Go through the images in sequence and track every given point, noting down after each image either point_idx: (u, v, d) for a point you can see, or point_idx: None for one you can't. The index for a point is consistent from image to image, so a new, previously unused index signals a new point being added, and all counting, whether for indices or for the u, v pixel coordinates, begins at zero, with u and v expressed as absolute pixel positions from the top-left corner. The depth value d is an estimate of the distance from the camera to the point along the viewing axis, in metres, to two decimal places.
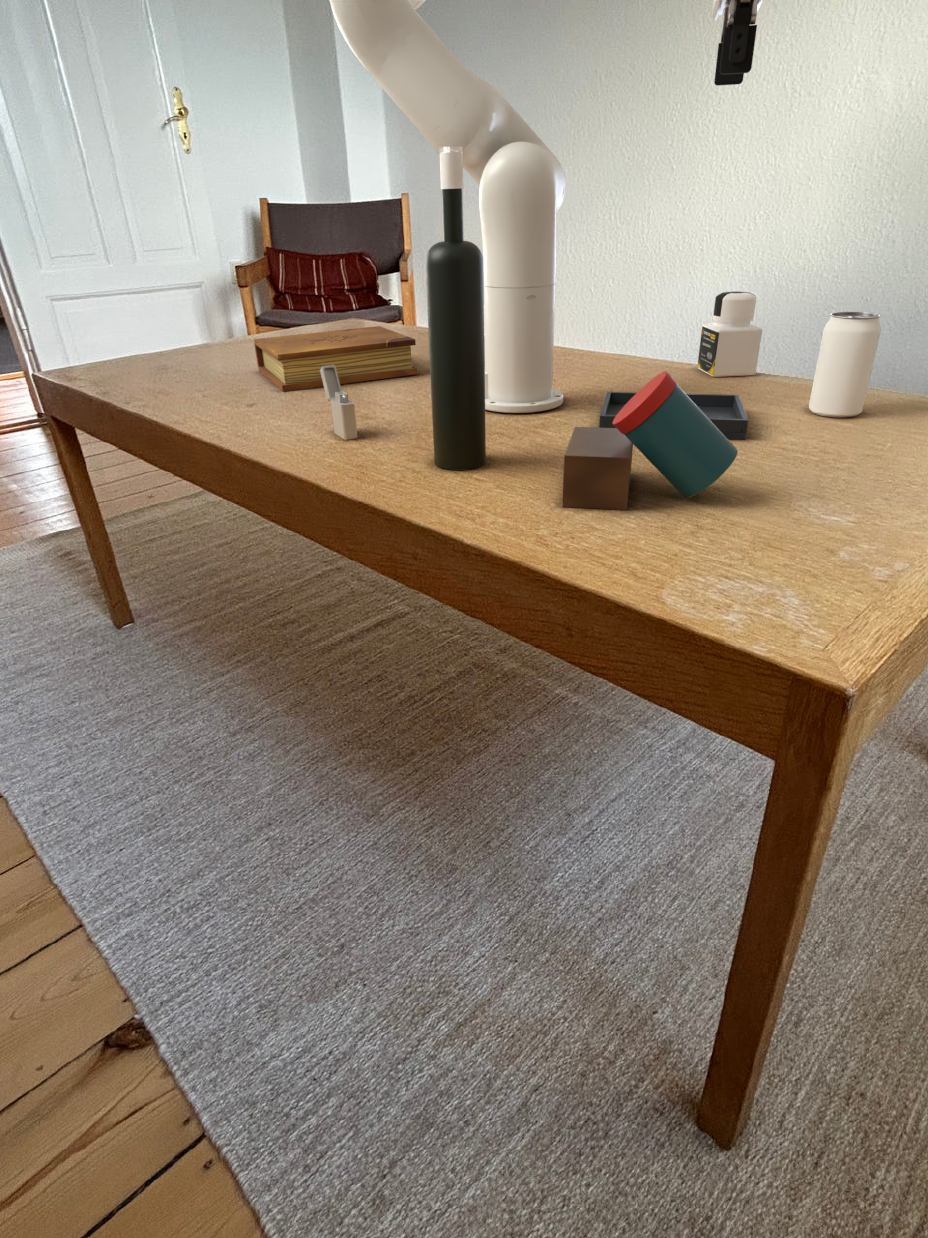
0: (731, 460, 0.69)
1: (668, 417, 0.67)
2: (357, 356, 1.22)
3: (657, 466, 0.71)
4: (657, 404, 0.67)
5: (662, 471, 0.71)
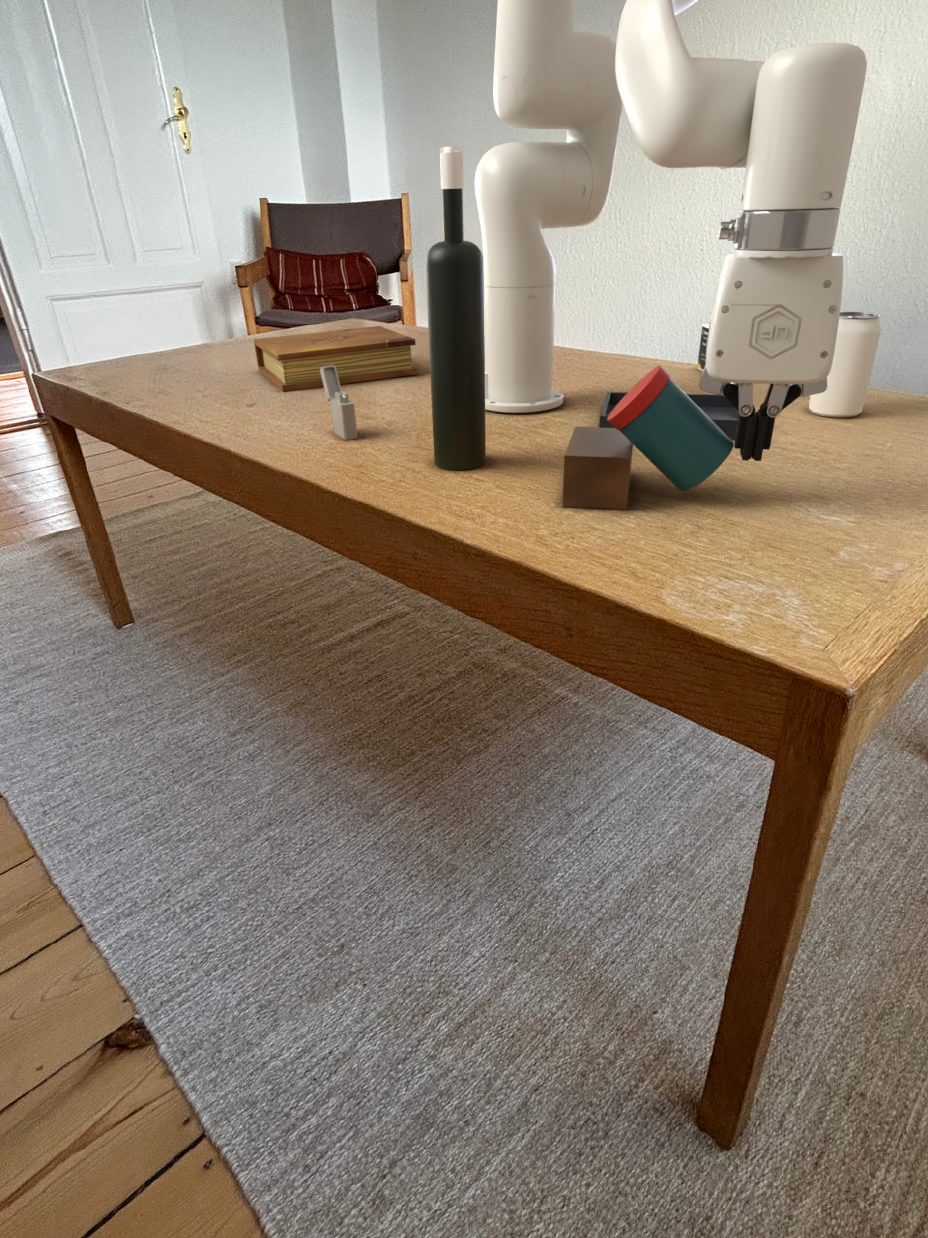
0: (727, 453, 0.68)
1: (661, 411, 0.67)
2: (357, 356, 1.22)
3: (653, 461, 0.70)
4: (650, 399, 0.67)
5: (658, 466, 0.71)
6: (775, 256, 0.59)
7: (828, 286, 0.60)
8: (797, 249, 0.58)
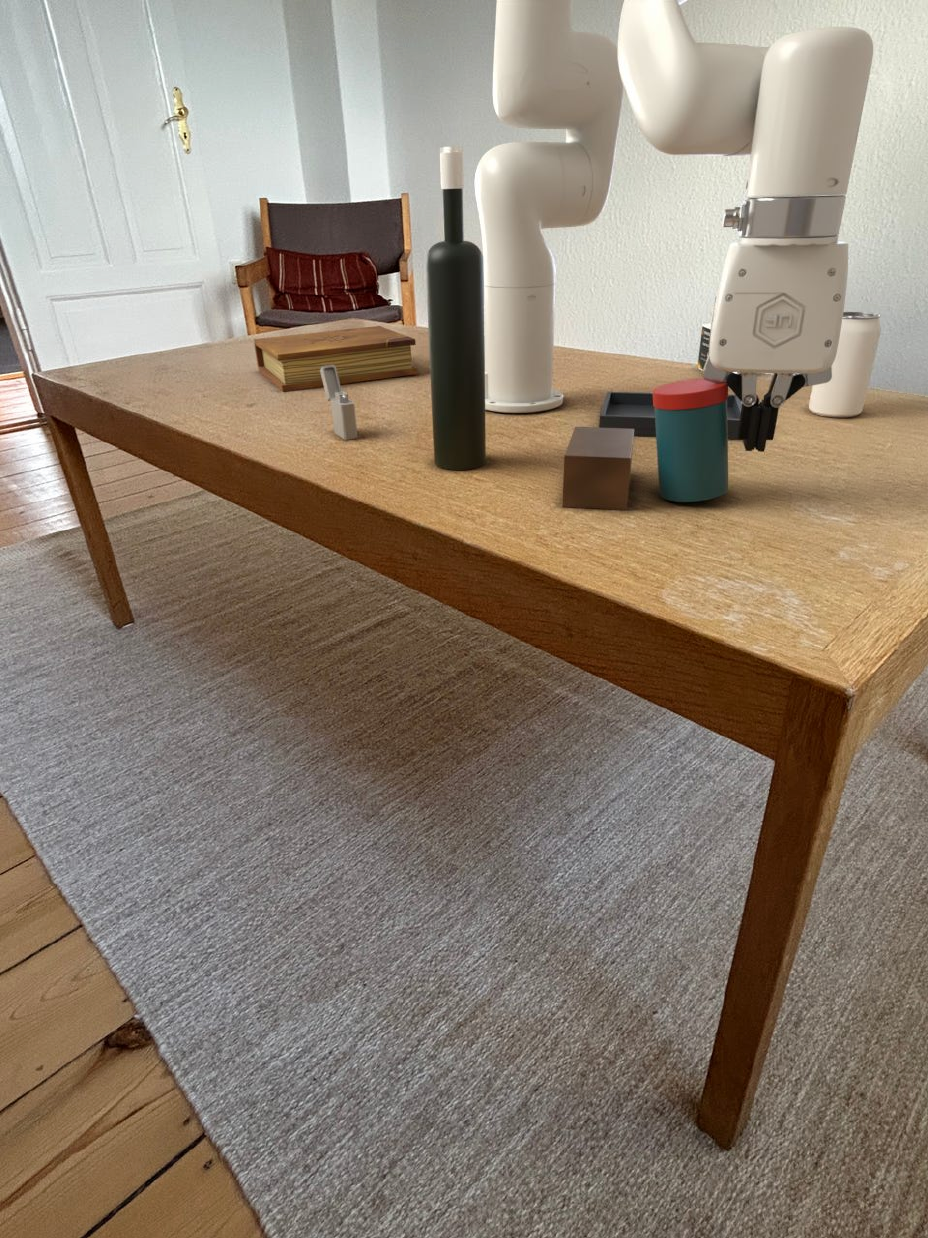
0: (721, 493, 0.70)
1: (705, 420, 0.67)
2: (357, 356, 1.22)
3: (662, 455, 0.70)
4: (706, 403, 0.66)
5: (662, 463, 0.70)
6: (779, 244, 0.58)
7: (832, 274, 0.59)
8: (801, 236, 0.58)
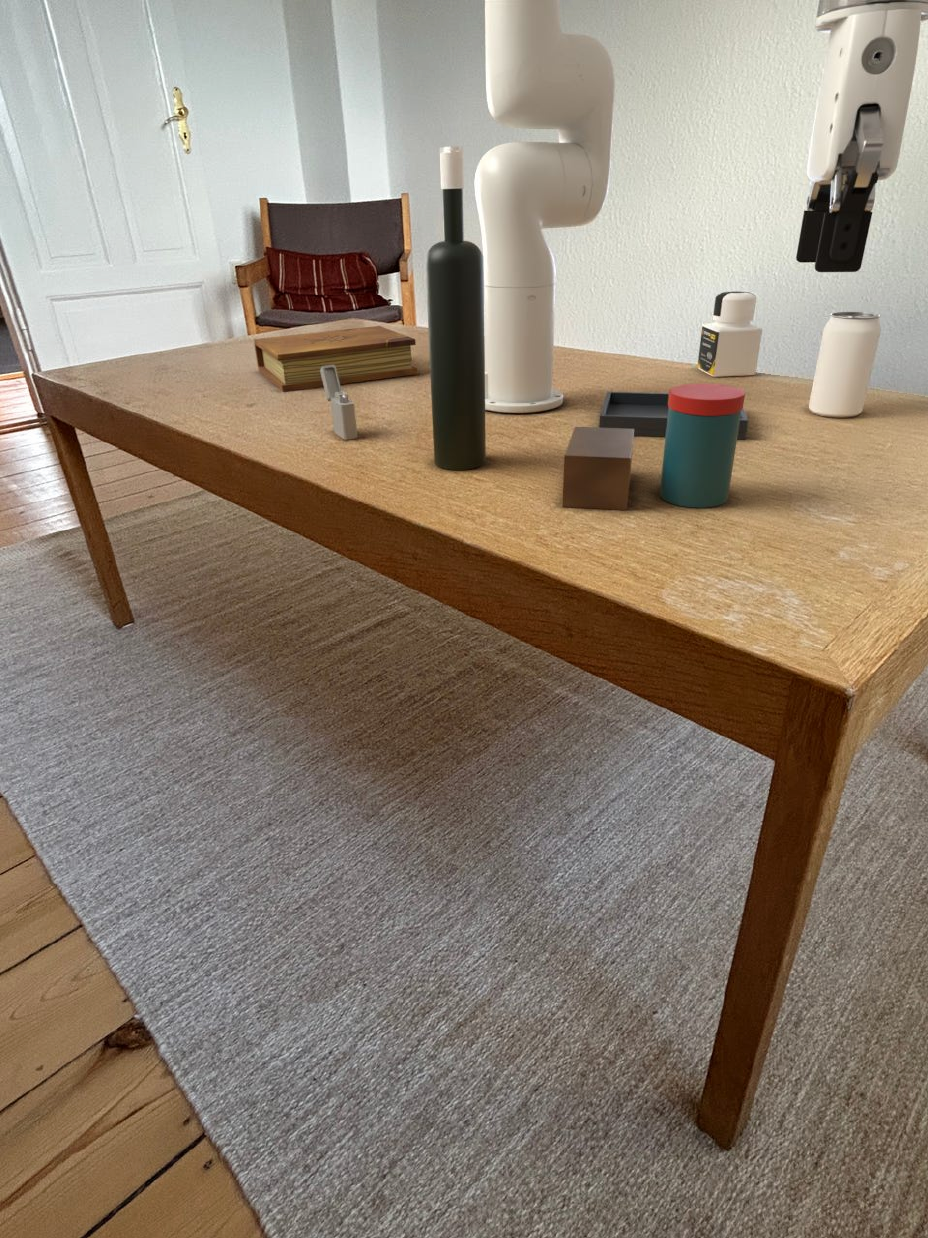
0: (721, 502, 0.70)
1: (718, 429, 0.66)
2: (357, 356, 1.22)
3: (669, 457, 0.70)
4: (722, 412, 0.66)
5: (668, 464, 0.70)
6: None
7: None
8: None
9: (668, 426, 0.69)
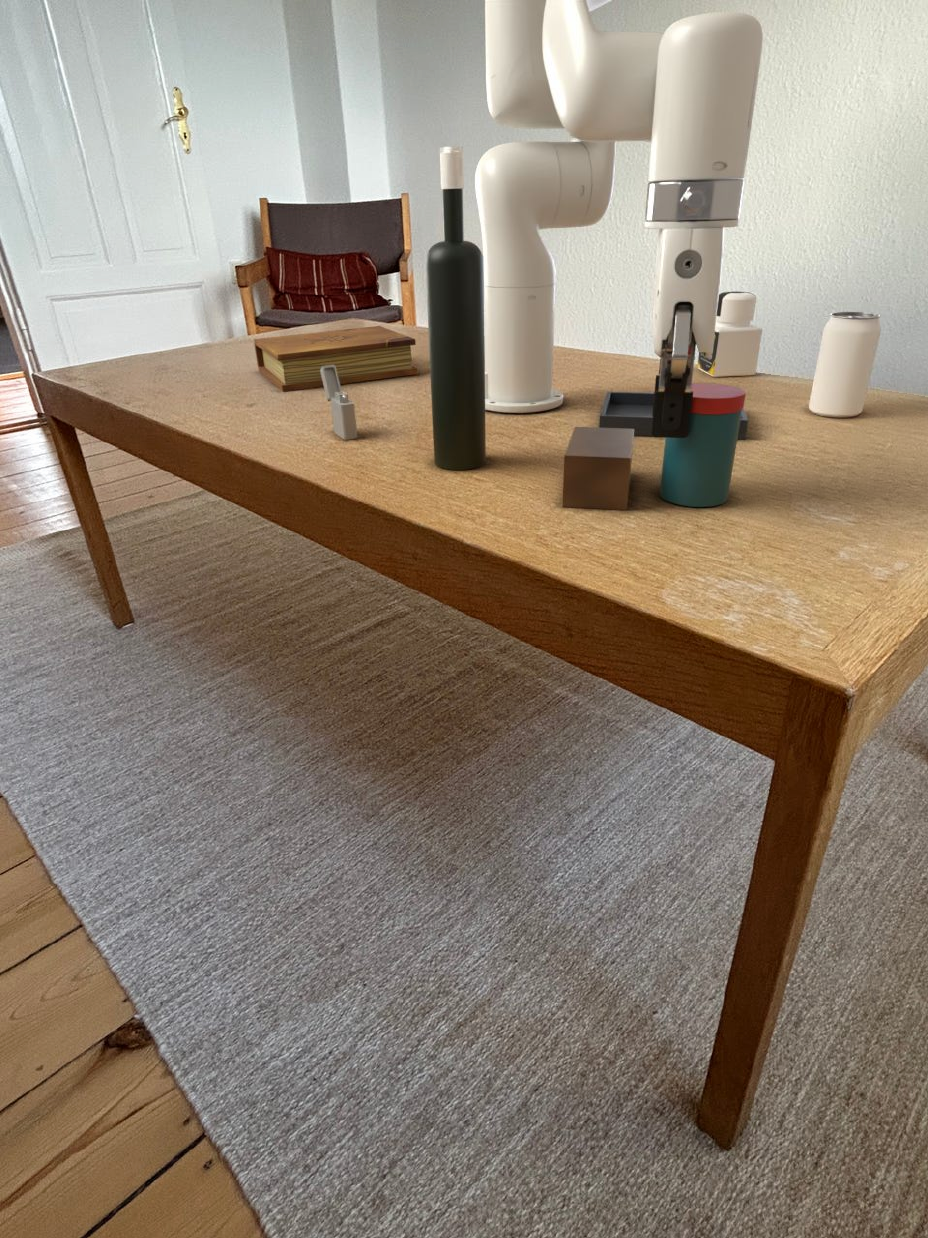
0: (721, 502, 0.70)
1: (719, 428, 0.66)
2: (357, 356, 1.22)
3: (669, 456, 0.70)
4: (722, 411, 0.66)
5: (668, 463, 0.70)
6: (737, 224, 0.60)
7: None
8: None
9: None
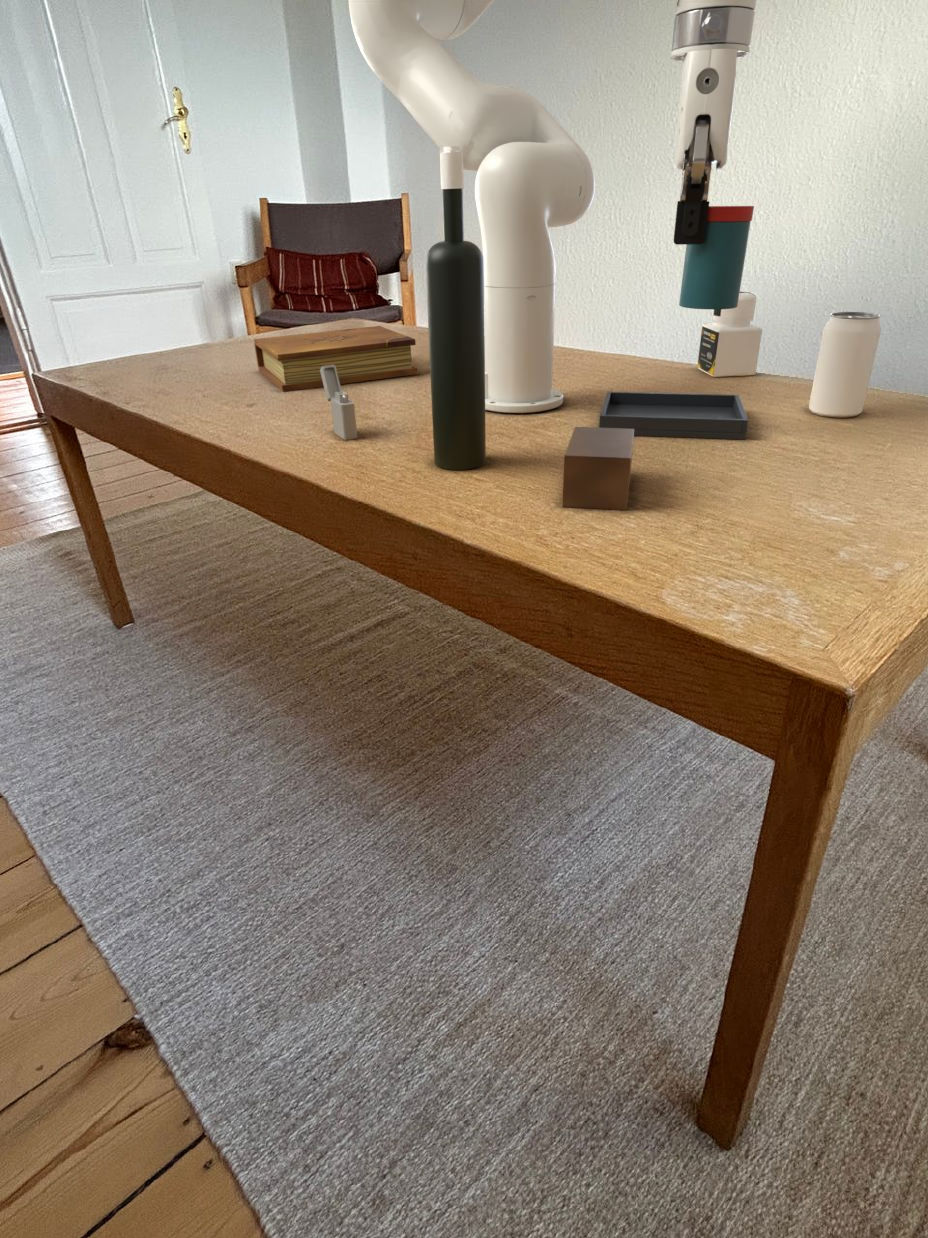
0: (732, 306, 0.83)
1: (730, 234, 0.79)
2: (357, 356, 1.22)
3: (688, 265, 0.83)
4: (734, 218, 0.79)
5: (688, 272, 0.83)
6: (748, 50, 0.73)
7: None
8: None
9: None
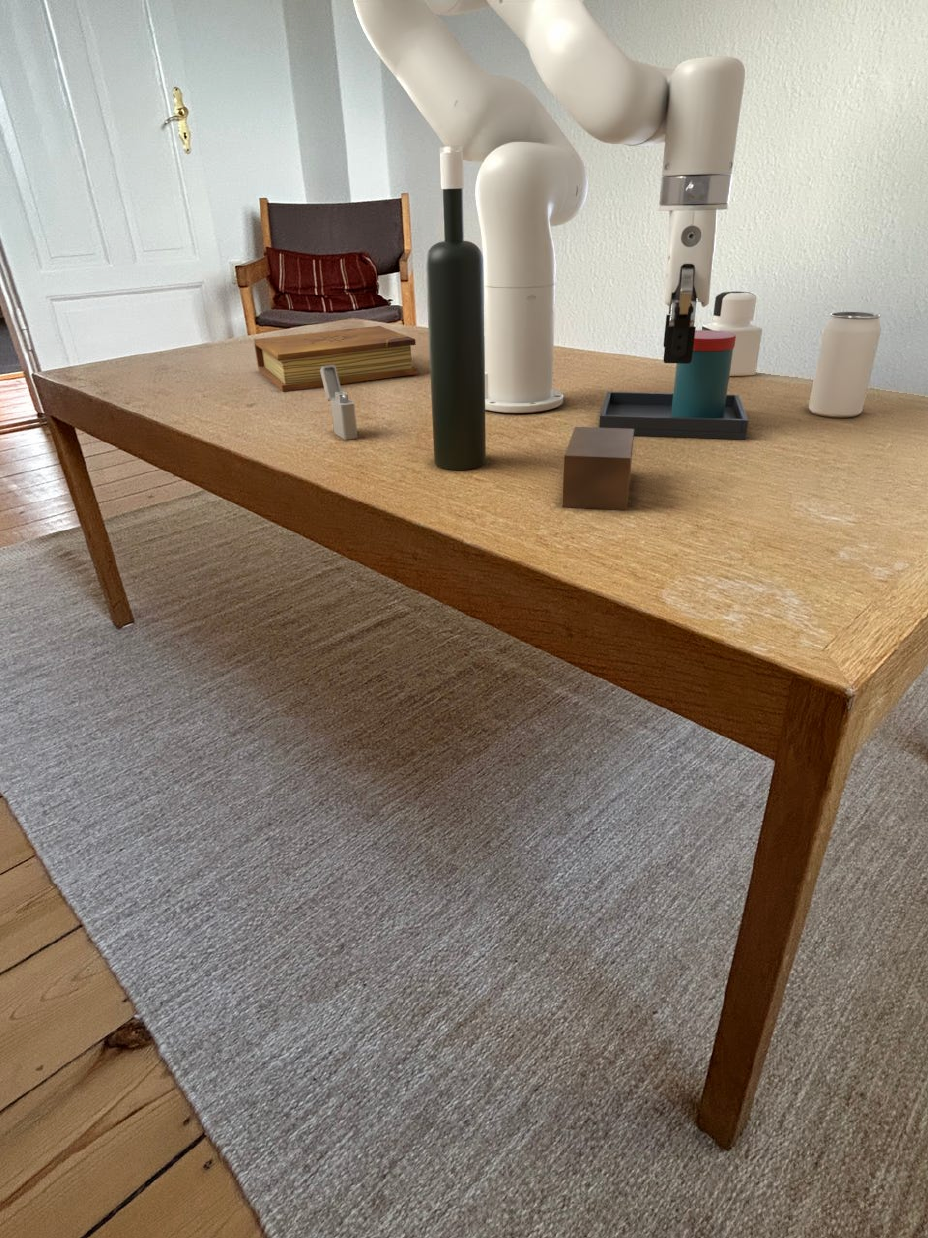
0: None
1: (715, 361, 0.89)
2: (357, 356, 1.22)
3: (678, 385, 0.92)
4: (718, 348, 0.88)
5: (678, 391, 0.92)
6: (727, 207, 0.83)
7: None
8: None
9: None
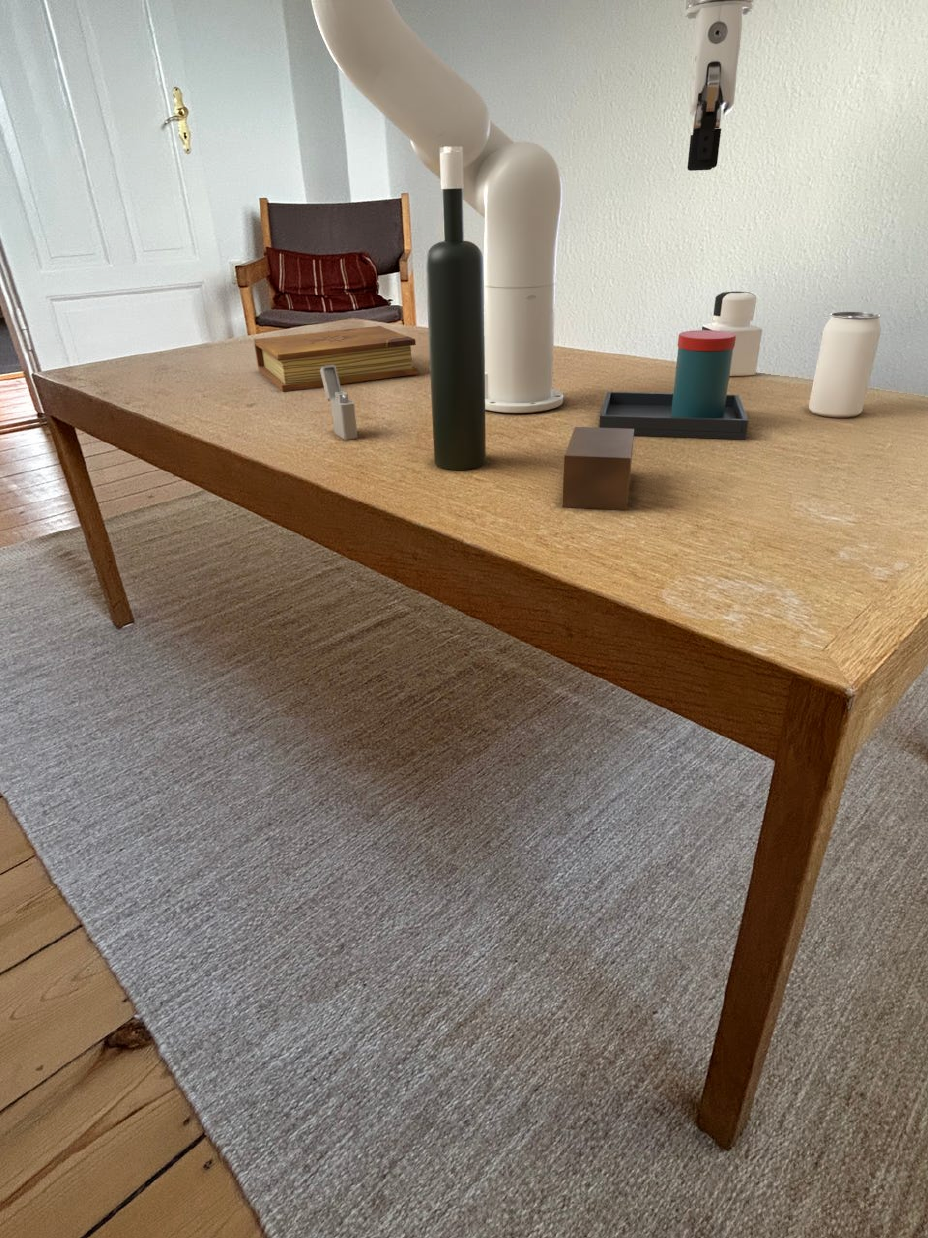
0: None
1: (715, 361, 0.89)
2: (357, 356, 1.22)
3: (678, 385, 0.92)
4: (718, 348, 0.88)
5: (678, 391, 0.92)
6: (751, 7, 0.86)
7: None
8: None
9: (678, 361, 0.92)
